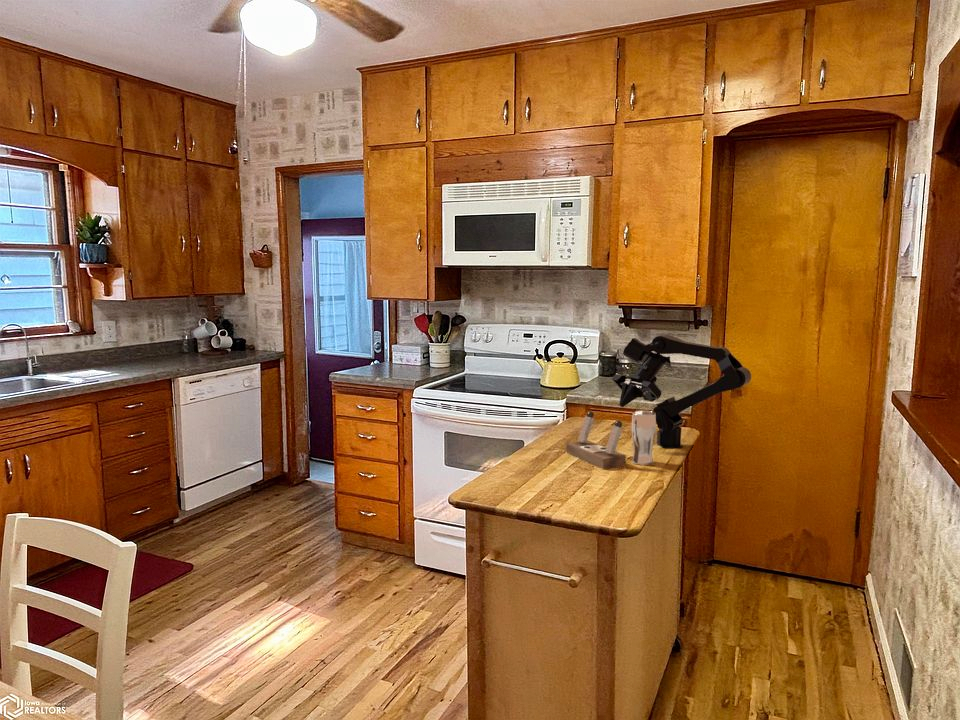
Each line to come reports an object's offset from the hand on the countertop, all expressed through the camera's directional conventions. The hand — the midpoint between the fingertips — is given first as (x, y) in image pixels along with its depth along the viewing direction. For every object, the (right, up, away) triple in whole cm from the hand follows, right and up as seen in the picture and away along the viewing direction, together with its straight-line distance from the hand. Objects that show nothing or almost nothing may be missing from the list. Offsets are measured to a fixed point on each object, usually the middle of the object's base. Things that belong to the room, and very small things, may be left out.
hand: (620, 406), depth 207 cm
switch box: (-10, -15, -11) cm, 21 cm away
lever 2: (-7, -12, -18) cm, 23 cm away
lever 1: (-13, -11, -5) cm, 18 cm away
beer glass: (+3, -16, -14) cm, 22 cm away
